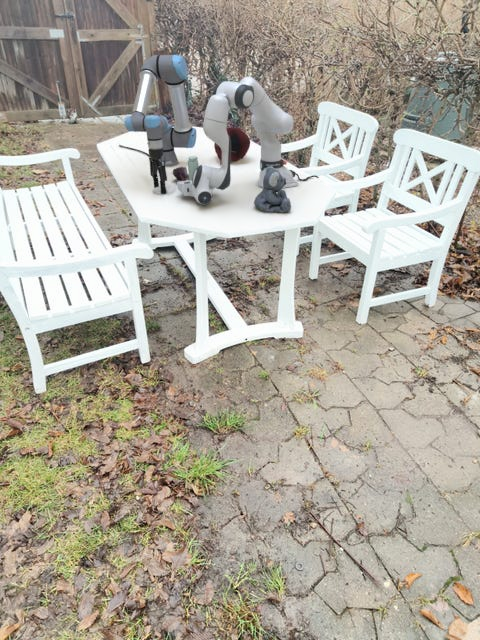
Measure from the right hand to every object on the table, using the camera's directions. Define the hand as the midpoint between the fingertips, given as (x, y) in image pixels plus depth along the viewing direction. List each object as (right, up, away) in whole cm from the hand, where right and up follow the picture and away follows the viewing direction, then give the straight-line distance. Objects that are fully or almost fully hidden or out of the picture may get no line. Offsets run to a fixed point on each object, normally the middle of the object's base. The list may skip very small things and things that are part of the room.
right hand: (193, 180), depth 245 cm
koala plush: (+41, -20, -19) cm, 49 cm away
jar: (0, -5, +3) cm, 6 cm away
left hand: (-19, -5, +3) cm, 20 cm away
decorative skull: (+20, +31, +55) cm, 66 cm away
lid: (-19, -4, +2) cm, 20 cm away
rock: (-9, +5, +18) cm, 21 cm away
